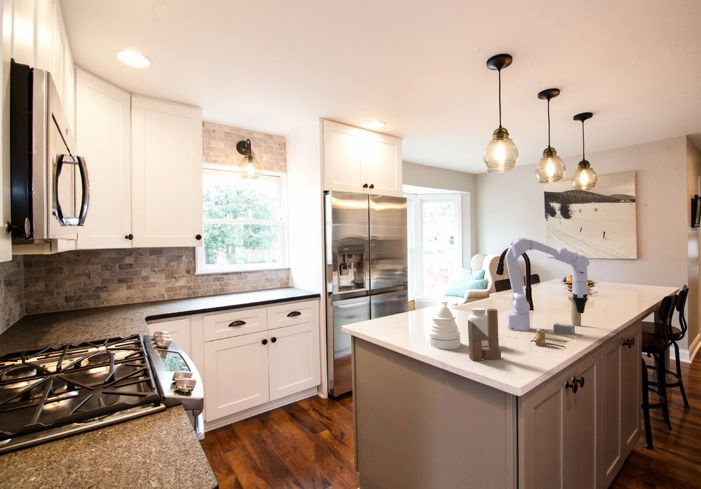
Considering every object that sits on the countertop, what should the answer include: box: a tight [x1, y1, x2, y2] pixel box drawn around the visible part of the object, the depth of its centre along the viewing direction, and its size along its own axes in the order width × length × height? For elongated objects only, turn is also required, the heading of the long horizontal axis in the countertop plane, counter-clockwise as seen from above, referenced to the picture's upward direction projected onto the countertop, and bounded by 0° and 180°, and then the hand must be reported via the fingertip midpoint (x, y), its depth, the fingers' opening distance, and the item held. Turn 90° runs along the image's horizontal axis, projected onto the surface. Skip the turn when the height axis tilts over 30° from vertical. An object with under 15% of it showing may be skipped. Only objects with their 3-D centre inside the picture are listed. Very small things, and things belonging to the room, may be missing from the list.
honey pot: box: [428, 300, 461, 350], centre depth 142 cm, size 13×13×18 cm
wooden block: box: [467, 308, 502, 362], centre depth 123 cm, size 4×11×18 cm, turn 96°
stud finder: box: [553, 322, 576, 335], centre depth 148 cm, size 4×7×4 cm, turn 38°
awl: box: [535, 328, 546, 347], centre depth 136 cm, size 3×3×6 cm
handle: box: [567, 295, 582, 327], centre depth 161 cm, size 5×6×15 cm
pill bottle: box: [467, 307, 488, 348], centre depth 140 cm, size 8×8×15 cm
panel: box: [531, 329, 581, 348], centre depth 143 cm, size 20×12×1 cm, turn 128°
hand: (580, 311), depth 151 cm, fingers open, 7 cm apart
